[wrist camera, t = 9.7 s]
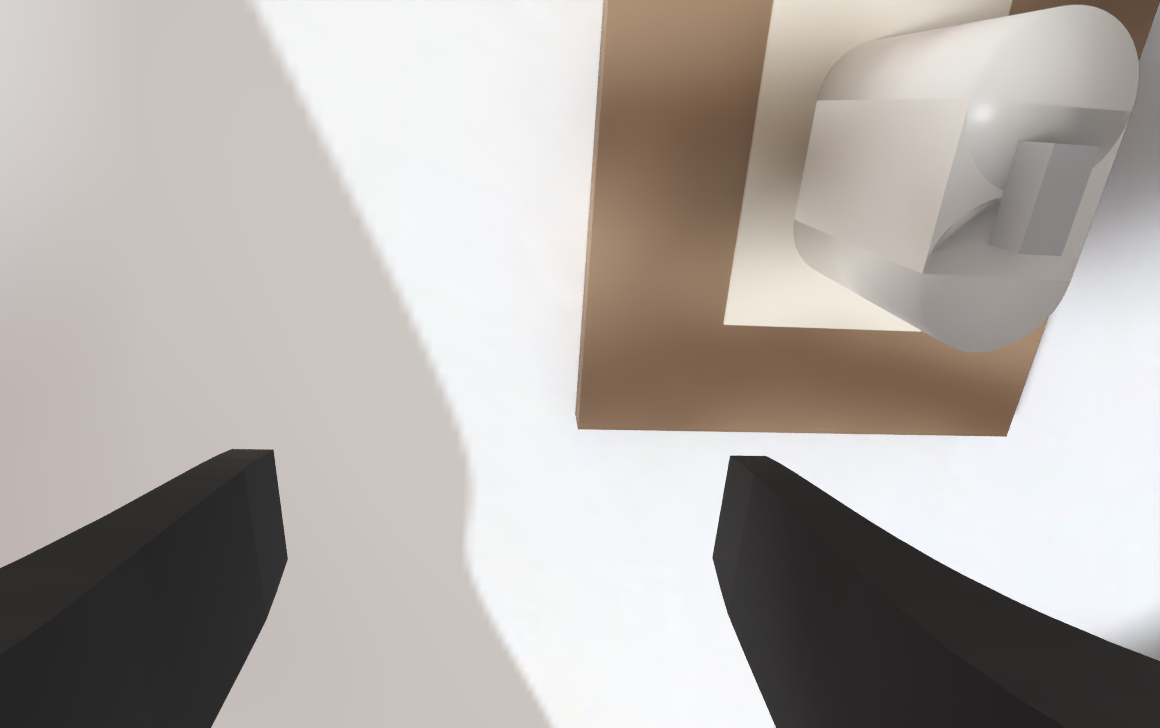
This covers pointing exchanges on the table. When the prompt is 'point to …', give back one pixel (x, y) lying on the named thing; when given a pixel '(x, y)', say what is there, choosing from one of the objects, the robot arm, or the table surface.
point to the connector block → (967, 168)
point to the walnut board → (756, 233)
